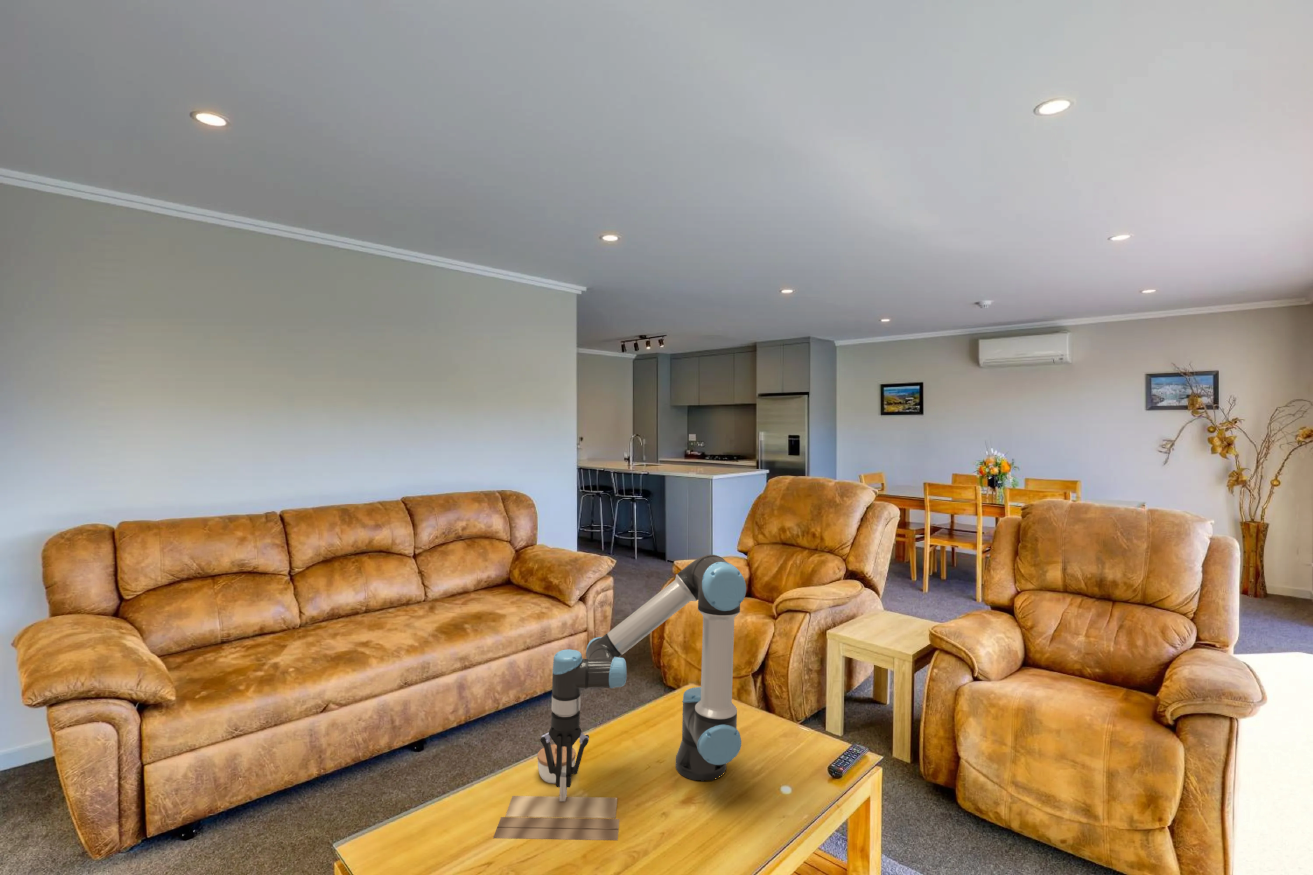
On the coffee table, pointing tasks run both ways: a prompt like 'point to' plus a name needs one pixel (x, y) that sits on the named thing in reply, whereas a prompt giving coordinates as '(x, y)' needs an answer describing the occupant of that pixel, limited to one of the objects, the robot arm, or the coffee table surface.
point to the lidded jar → (544, 766)
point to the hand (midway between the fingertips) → (563, 797)
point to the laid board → (557, 828)
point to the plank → (562, 807)
